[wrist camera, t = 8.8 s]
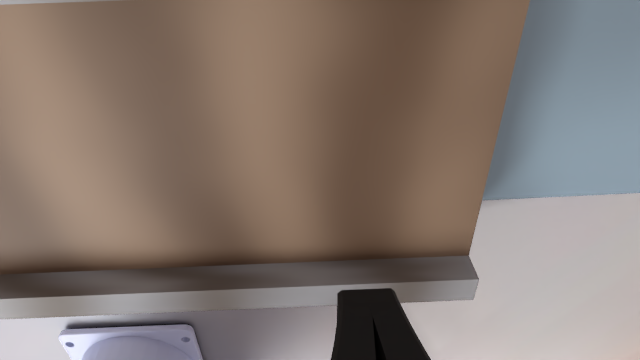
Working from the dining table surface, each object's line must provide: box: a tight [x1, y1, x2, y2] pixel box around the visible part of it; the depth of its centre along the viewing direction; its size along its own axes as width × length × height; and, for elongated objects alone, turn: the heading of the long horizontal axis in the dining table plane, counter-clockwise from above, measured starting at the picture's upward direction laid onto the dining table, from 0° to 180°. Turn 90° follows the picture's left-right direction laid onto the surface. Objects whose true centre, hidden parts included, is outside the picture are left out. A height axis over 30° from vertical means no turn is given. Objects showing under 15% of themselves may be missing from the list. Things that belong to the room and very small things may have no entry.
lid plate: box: [482, 0, 640, 200], centre depth 18 cm, size 10×9×2 cm
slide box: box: [0, 0, 530, 319], centre depth 16 cm, size 22×13×5 cm, turn 92°
